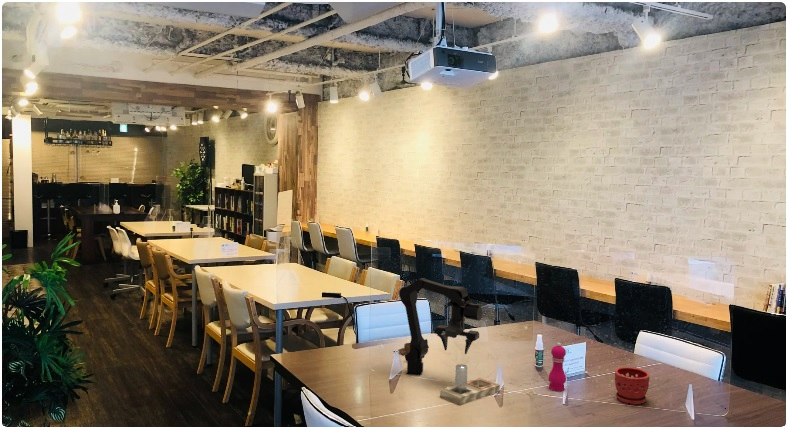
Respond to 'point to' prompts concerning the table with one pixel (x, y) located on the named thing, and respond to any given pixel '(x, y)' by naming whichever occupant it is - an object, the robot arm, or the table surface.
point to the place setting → (405, 349)
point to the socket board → (470, 391)
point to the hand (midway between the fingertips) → (455, 352)
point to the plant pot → (631, 385)
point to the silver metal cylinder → (461, 379)
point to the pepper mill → (557, 368)
